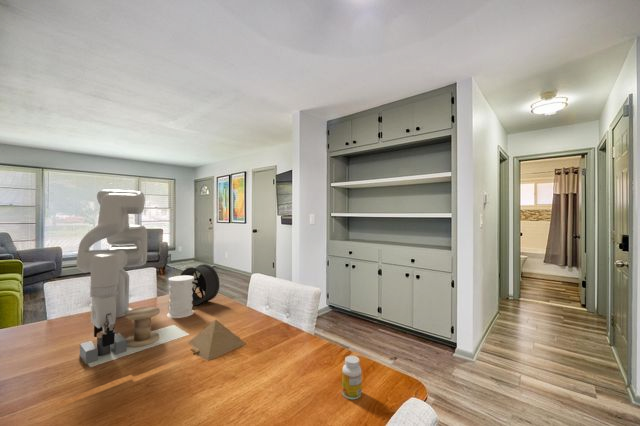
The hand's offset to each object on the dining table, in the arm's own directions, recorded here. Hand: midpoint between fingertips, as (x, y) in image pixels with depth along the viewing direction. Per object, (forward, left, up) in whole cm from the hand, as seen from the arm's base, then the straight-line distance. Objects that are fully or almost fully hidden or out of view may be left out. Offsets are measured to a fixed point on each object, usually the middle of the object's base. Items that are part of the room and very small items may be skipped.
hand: (103, 340), depth 96 cm
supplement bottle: (+75, +39, -6) cm, 84 cm away
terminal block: (+1, 0, -4) cm, 4 cm away
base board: (+1, +10, -6) cm, 12 cm away
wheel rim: (-29, +49, -6) cm, 57 cm away
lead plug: (0, 0, -4) cm, 4 cm away
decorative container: (-17, +34, -6) cm, 39 cm away
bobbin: (0, +12, -4) cm, 13 cm away
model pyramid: (+21, +29, -6) cm, 36 cm away
